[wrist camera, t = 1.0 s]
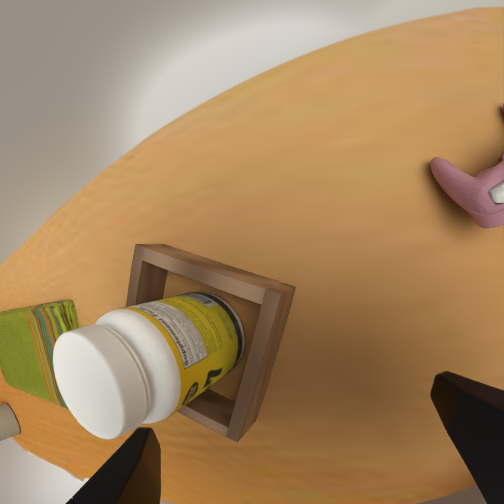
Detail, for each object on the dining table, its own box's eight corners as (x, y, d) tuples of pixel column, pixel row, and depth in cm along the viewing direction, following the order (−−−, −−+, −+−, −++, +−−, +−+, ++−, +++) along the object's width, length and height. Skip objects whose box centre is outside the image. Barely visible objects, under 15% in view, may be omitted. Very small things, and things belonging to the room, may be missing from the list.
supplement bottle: (200, 386, 25) (91, 456, 13) (158, 317, 27) (34, 351, 15) (265, 351, 23) (157, 436, 11) (215, 272, 24) (78, 293, 12)
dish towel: (109, 416, 32) (91, 426, 29) (12, 384, 45) (1, 387, 42) (77, 297, 32) (56, 300, 30) (-5, 313, 46) (-18, 314, 43)
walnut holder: (295, 286, 22) (280, 294, 19) (255, 420, 23) (237, 442, 20) (163, 244, 26) (135, 244, 23) (144, 364, 28) (119, 375, 24)
